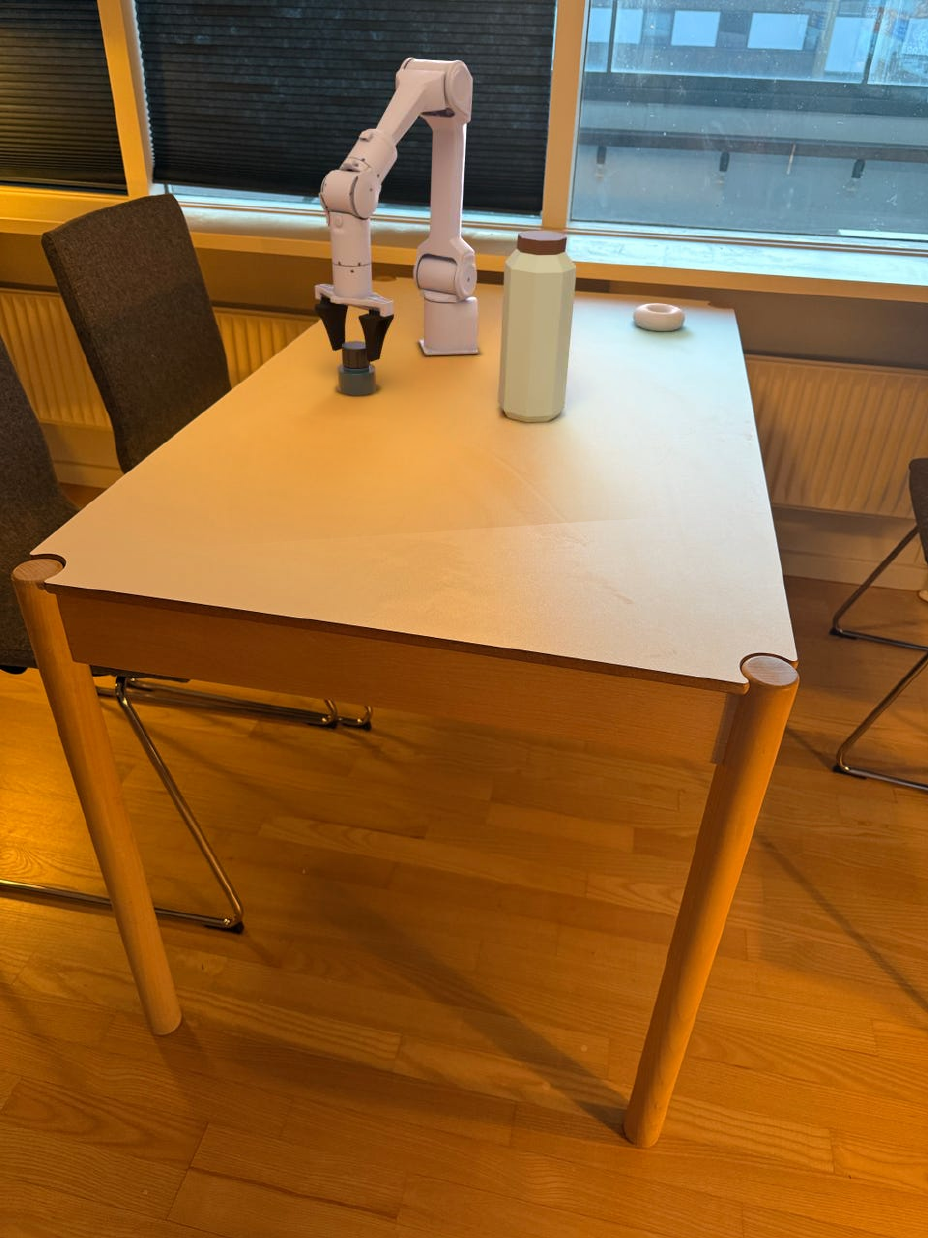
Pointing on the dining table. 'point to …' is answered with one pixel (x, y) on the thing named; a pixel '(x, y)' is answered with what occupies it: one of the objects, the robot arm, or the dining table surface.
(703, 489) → the dining table surface
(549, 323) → the water bottle
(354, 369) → the bottle
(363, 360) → the cap
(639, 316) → the donut
